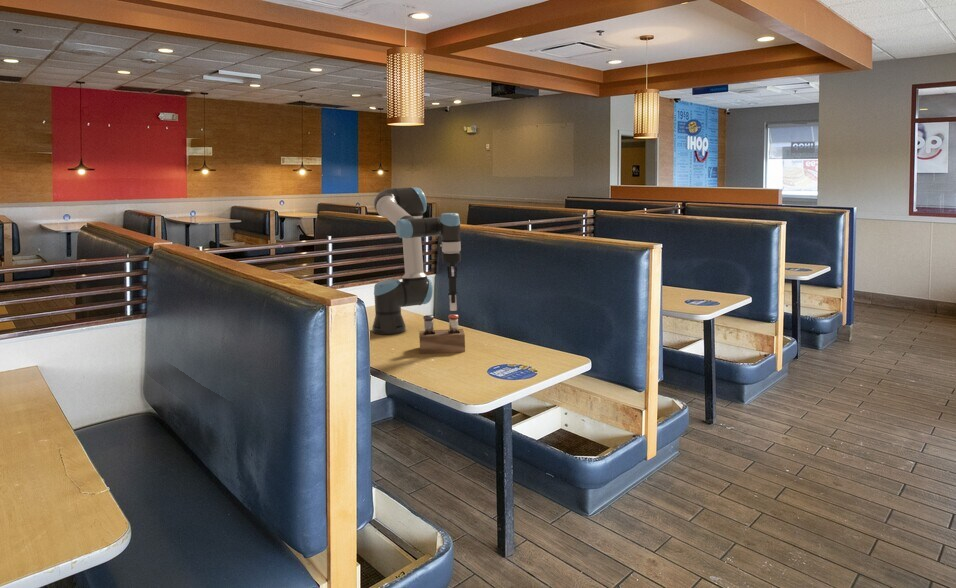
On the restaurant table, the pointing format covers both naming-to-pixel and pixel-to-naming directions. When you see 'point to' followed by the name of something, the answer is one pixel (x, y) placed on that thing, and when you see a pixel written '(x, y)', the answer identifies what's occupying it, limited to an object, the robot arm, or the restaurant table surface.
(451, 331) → the plug red
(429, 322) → the plug grey
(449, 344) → the block
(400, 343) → the restaurant table surface
